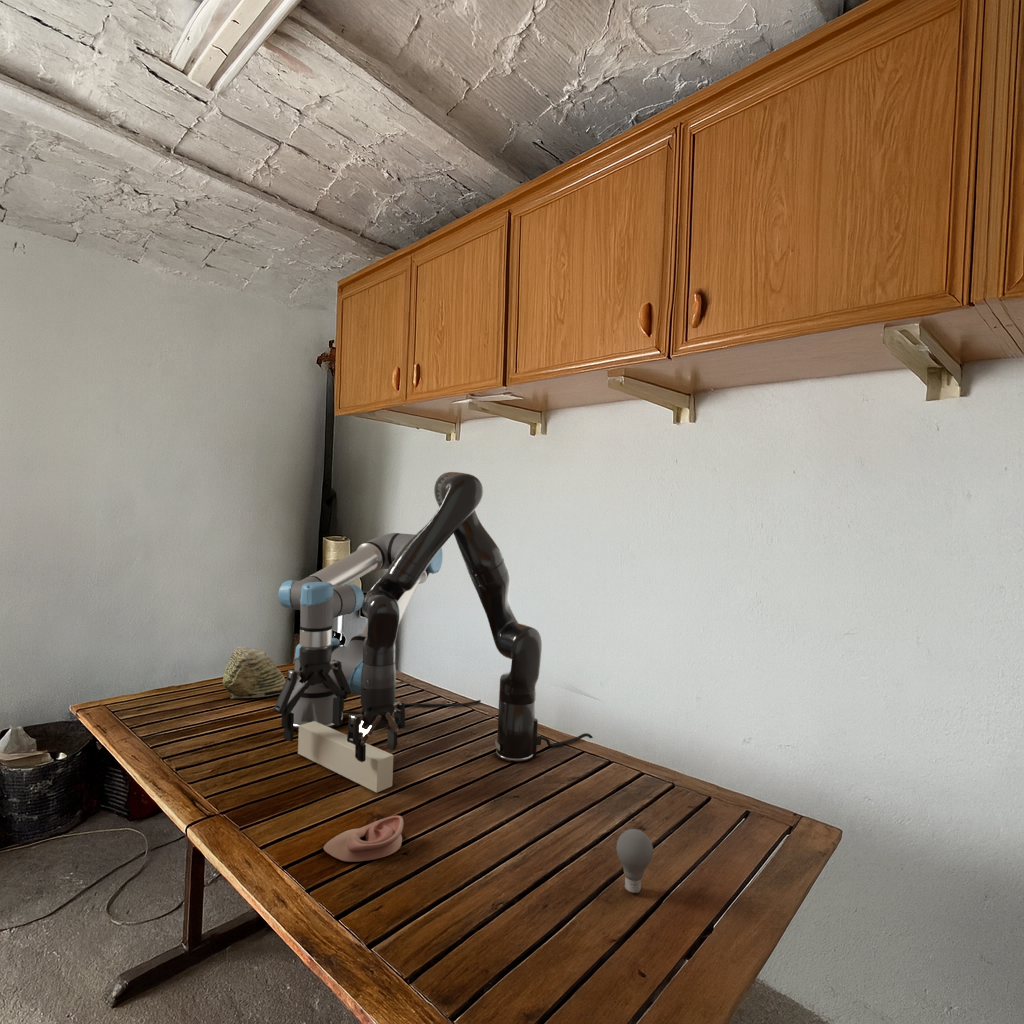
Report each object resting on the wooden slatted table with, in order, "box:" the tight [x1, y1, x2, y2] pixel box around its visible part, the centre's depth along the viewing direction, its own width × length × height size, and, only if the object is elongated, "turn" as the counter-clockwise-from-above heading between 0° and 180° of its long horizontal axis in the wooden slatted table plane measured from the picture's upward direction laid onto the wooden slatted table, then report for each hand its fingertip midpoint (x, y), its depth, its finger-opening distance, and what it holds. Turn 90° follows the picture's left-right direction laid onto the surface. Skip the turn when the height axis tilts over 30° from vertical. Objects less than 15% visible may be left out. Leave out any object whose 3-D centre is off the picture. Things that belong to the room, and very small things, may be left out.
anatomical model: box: [323, 815, 404, 863], centre depth 116 cm, size 13×4×12 cm
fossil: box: [222, 646, 286, 699], centre depth 198 cm, size 9×18×15 cm, turn 132°
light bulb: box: [615, 828, 654, 894], centre depth 106 cm, size 6×6×10 cm
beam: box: [297, 721, 394, 794], centre depth 148 cm, size 30×4×7 cm, turn 51°
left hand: (313, 731), depth 155 cm, fingers open, 13 cm apart
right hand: (376, 754), depth 140 cm, fingers open, 8 cm apart
